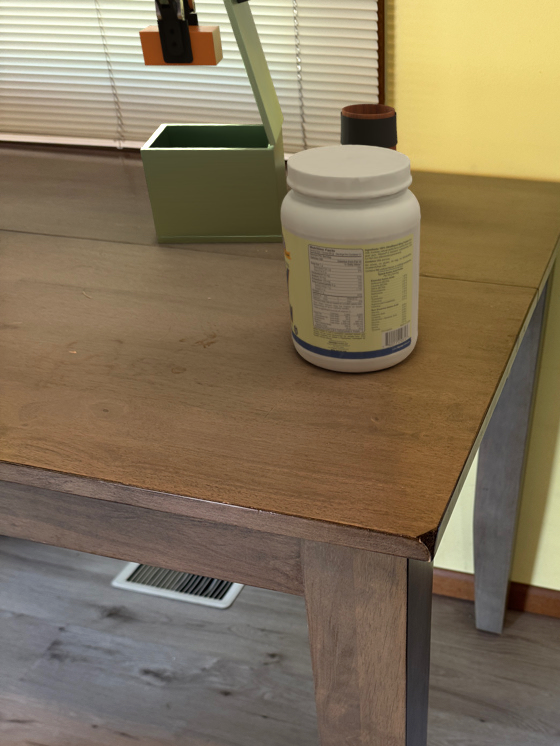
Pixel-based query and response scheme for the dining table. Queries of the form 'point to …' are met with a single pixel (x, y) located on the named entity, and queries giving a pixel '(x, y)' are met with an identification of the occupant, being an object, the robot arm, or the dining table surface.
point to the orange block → (202, 44)
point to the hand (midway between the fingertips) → (183, 56)
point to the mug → (369, 125)
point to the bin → (215, 183)
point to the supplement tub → (352, 256)
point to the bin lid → (255, 66)
